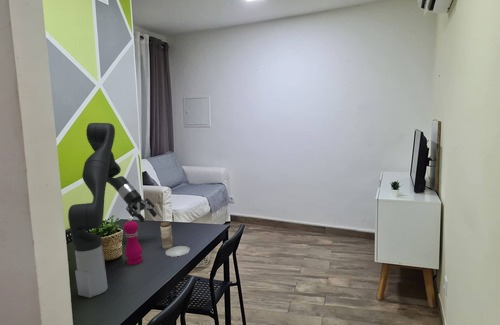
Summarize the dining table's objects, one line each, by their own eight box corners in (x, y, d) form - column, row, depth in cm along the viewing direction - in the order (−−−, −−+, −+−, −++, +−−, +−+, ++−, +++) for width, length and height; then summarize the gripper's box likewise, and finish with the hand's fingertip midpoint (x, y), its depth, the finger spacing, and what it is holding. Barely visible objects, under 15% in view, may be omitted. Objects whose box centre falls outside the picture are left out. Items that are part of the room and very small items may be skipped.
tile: (180, 258, 156) (180, 256, 155) (160, 255, 160) (160, 253, 160) (194, 248, 165) (194, 247, 165) (175, 246, 170) (175, 245, 170)
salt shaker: (168, 249, 167) (166, 224, 165) (160, 247, 169) (157, 223, 167) (175, 245, 171) (172, 221, 170) (166, 244, 174) (164, 220, 172)
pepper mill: (138, 265, 150) (133, 220, 148) (122, 265, 152) (117, 220, 149) (146, 258, 157) (141, 215, 155) (131, 258, 159) (126, 215, 156)
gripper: (122, 192, 168) (143, 217, 164) (143, 186, 180) (162, 209, 177) (115, 203, 171) (135, 227, 167) (136, 195, 183) (155, 218, 180)
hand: (149, 218), depth 172 cm, fingers open, 8 cm apart
